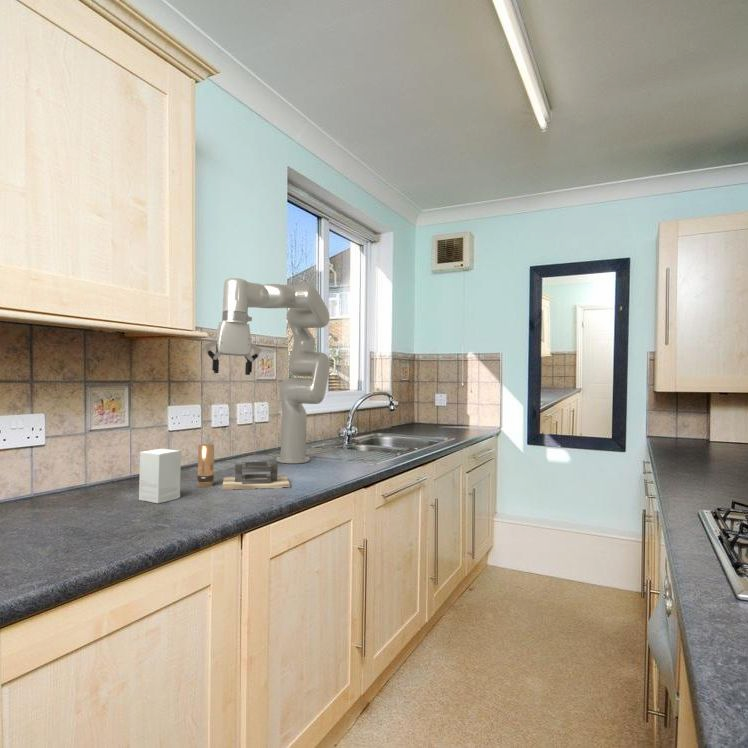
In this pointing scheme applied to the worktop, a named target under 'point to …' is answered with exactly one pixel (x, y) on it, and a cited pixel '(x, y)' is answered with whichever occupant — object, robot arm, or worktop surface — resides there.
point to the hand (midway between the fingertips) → (232, 373)
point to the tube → (205, 465)
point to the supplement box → (159, 475)
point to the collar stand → (255, 477)
